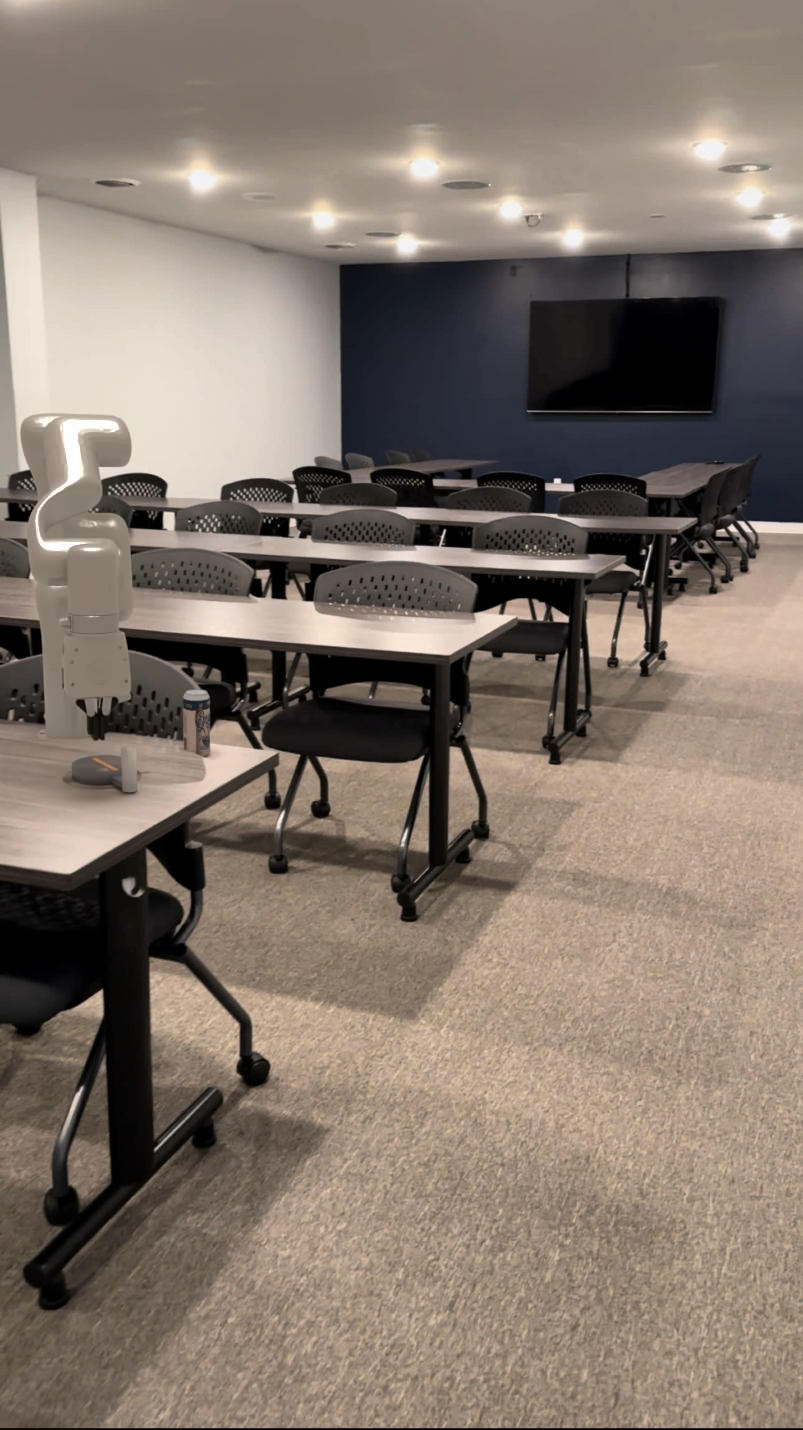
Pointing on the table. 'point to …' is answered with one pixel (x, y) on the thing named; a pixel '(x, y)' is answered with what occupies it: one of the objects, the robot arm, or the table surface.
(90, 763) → the dial
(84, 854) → the table surface
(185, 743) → the beer can
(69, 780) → the board
